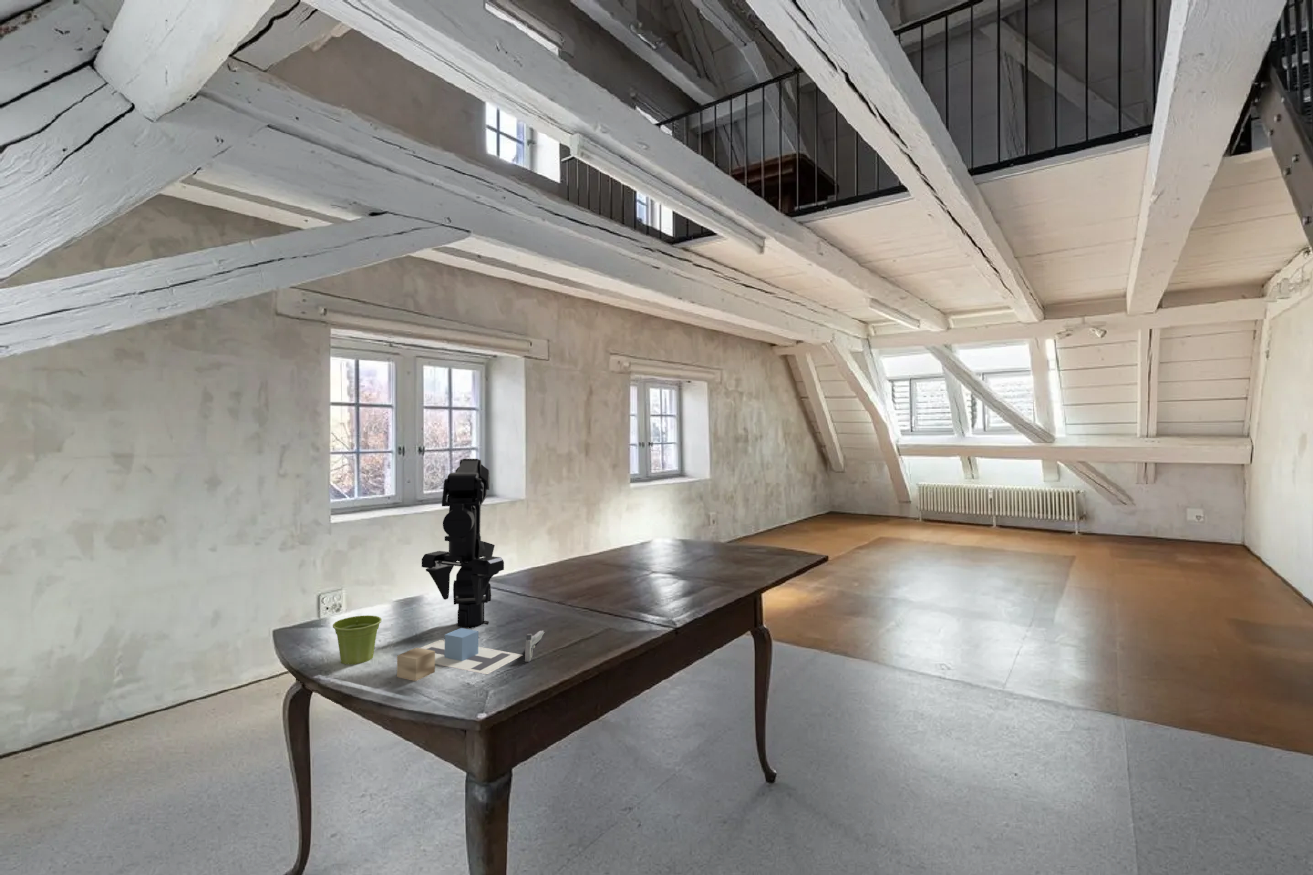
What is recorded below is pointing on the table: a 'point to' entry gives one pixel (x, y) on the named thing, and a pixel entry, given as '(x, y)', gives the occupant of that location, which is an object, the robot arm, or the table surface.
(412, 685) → the table surface
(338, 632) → the plant pot
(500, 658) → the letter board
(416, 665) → the wood block
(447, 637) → the blue cube
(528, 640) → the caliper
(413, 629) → the table surface
